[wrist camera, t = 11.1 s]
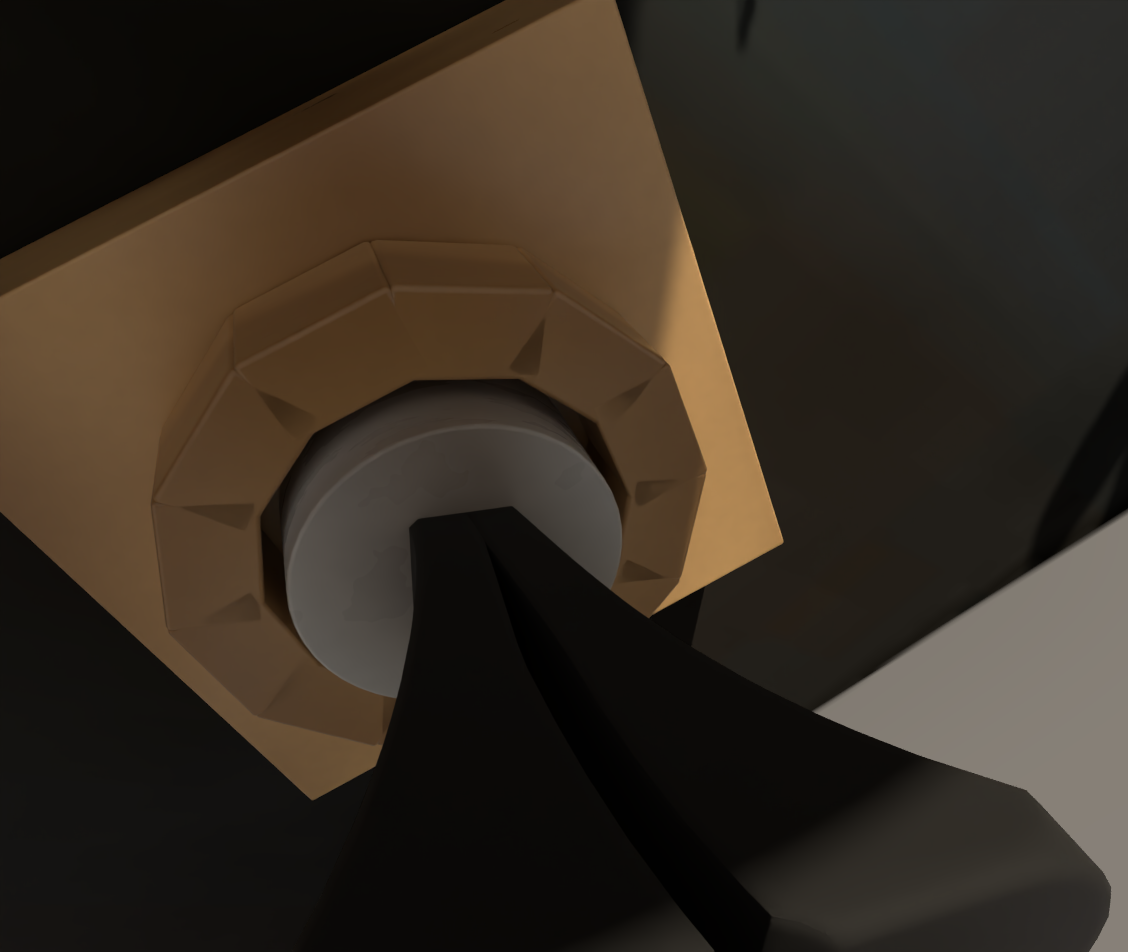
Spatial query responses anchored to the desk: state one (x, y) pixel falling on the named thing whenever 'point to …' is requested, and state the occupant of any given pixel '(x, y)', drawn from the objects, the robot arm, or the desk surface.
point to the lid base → (368, 349)
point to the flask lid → (425, 508)
